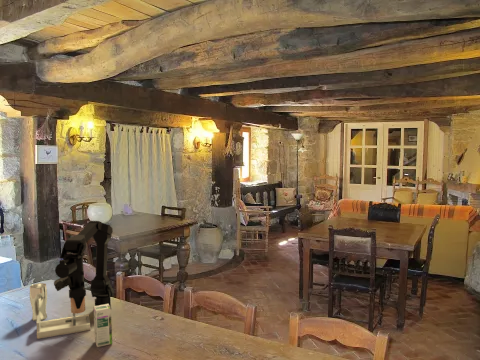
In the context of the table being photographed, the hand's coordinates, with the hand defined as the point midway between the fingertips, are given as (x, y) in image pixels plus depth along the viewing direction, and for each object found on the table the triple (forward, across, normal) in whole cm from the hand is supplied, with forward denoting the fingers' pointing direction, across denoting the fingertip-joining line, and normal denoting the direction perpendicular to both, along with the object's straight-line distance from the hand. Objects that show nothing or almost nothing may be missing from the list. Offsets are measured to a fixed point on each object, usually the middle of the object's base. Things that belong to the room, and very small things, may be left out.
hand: (78, 305), depth 171 cm
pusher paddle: (+9, -4, -3) cm, 11 cm away
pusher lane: (+10, -4, -6) cm, 12 cm away
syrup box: (+10, +16, +8) cm, 21 cm away
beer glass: (+11, -19, -16) cm, 27 cm away
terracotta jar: (+2, 0, 0) cm, 2 cm away
